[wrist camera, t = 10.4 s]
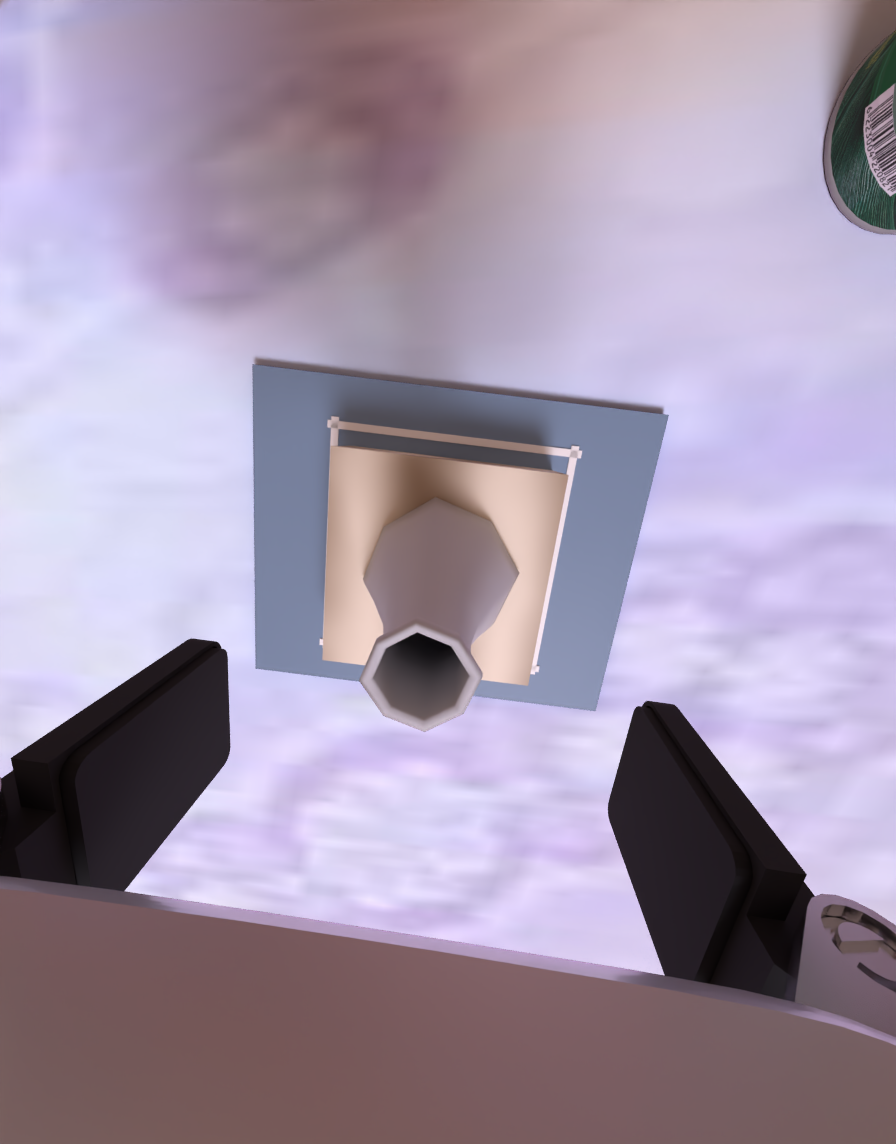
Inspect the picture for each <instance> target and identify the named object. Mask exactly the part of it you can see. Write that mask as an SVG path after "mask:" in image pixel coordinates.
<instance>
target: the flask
mask: <svg viewBox="0 0 896 1144" xmlns="http://www.w3.org/2000/svg"><path fill="white" fill-rule="evenodd" d="M518 575H519V571H518V569H517V567H516V566H515V564H514V562H513V560H512V558H511V556H510V555H509V553H508V551H507V549H506V547H505V545H504V544H503V542H502V540H501V538H500V536H499V534H498V533H497V531H496V529H495V527H494V525H493V523H492V522H491V521H489V520H486V519H484V518H482V517H480V516H477V515H475V514H473V513H471V512H468V511H466V510H464V509H462V508H459V507H457V506H455V505H452V504H450V503H448V502H446V501H443V500H441V499H439V498H437V497H435V498H433V499H431V500H429V501H428V502H426V503H424V504H422V505H421V506H419V507H417V508H416V509H414V510H412V511H410V512H409V513H407V514H405V515H403V516H402V517H400V518H398V519H396V520H395V521H393V522H391V523H389V524H388V525H386V526H384V527H383V529H382V532H381V535H380V537H379V540H378V542H377V545H376V547H375V550H374V552H373V555H372V557H371V560H370V562H369V565H368V567H367V570H366V573H365V575H364V578H363V581H364V583H365V586H366V588H367V590H368V591H369V593H370V595H371V597H372V599H373V601H374V603H375V606H376V608H377V611H378V613H379V616H380V618H381V621H382V623H383V635H381V636H379V637H378V638H377V639H376V641H375V643H374V646H373V648H372V651H371V653H370V655H369V658H368V660H367V662H366V665H365V667H364V669H363V672H362V674H361V677H360V679H359V681H360V683H361V684H362V685H363V687H364V688H365V690H366V691H367V693H368V694H369V696H370V697H371V698H372V700H373V701H374V703H375V704H376V706H377V707H378V709H379V710H380V712H381V713H382V714H383V716H385V717H388V718H391V719H393V720H396V721H398V722H401V723H403V724H406V725H408V726H411V727H413V728H416V729H418V730H421V731H423V732H426V731H428V730H430V729H432V728H434V727H436V726H438V725H441V724H443V723H445V722H447V721H449V720H451V719H453V718H456V717H458V716H460V715H462V714H464V712H465V710H466V708H467V706H468V704H469V702H470V700H471V698H472V696H473V695H474V693H475V691H476V689H477V687H478V685H479V683H480V681H481V679H482V677H483V673H482V671H481V669H480V667H479V666H478V664H477V662H476V661H475V659H474V657H473V656H472V654H471V645H472V644H473V642H474V641H475V640H476V639H477V638H478V637H479V636H480V635H481V634H483V633H484V632H485V631H486V630H487V629H489V628H490V627H491V626H492V625H493V624H494V622H495V621H496V619H497V617H498V615H499V613H500V611H501V609H502V607H503V605H504V603H505V601H506V599H507V597H508V595H509V593H510V591H511V589H512V587H513V585H514V583H515V581H516V579H517V577H518Z"/></svg>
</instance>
